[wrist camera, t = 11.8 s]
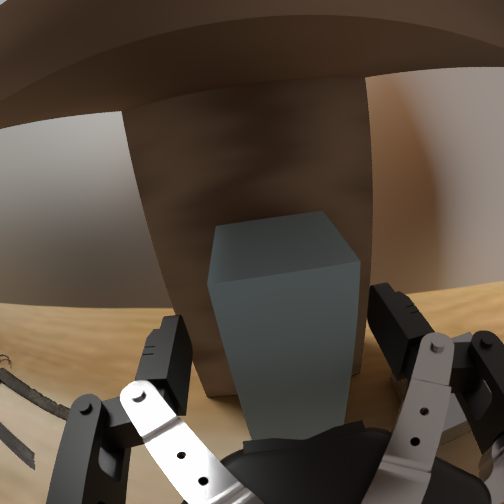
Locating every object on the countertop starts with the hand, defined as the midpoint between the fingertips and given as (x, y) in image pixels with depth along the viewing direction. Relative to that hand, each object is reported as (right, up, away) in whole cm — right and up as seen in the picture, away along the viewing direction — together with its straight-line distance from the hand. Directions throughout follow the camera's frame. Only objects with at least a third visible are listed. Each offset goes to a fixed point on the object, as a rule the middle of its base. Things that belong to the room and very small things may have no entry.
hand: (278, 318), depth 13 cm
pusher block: (+1, -8, +2) cm, 8 cm away
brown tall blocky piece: (+1, -7, +3) cm, 8 cm away
